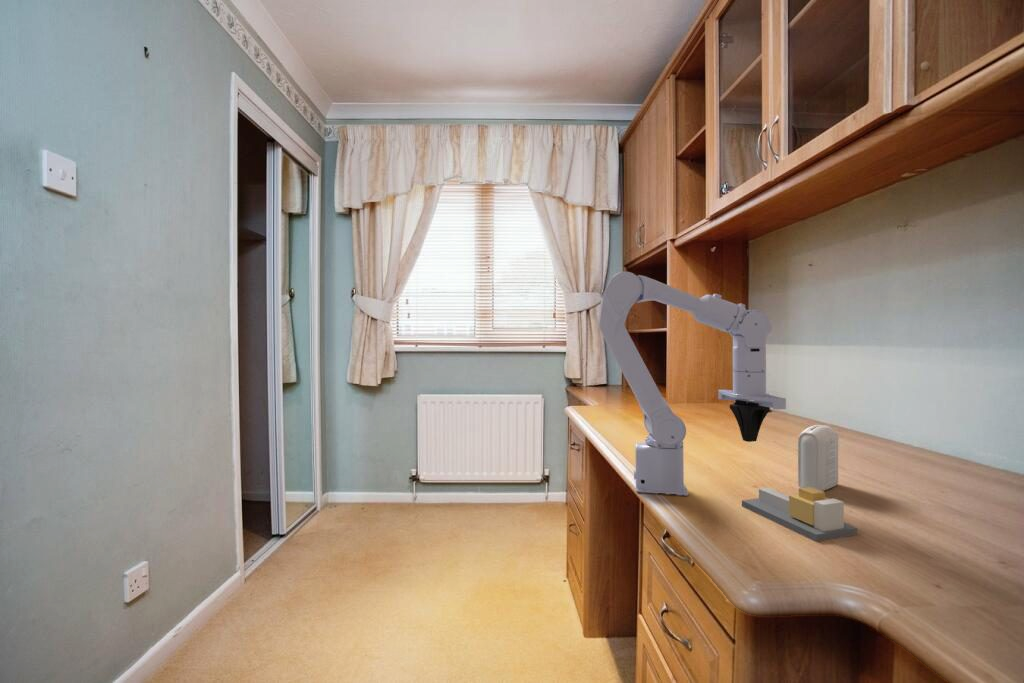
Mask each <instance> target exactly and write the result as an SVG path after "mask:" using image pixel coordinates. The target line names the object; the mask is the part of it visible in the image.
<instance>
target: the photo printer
mask: <svg viewBox="0 0 1024 683" xmlns="http://www.w3.org/2000/svg"><path fill="white" fill-rule="evenodd" d="M797 440H798V441H797V447H798V448H797V475H798V476H797V480H798V481H797V483H798V484H797V485H798V488H806V487H812V488H815V489H818V490H821V491H823V492H825V491H827V490H829V489H831V488H834V487H835V486H837V485H838V483H839V436H838V433H837V431H836V430H835V429H834V428H832V427H831V426H829V425H825V424H823V425H822V424H815V425H811V426H809V427H807V428H806V429H804V430H802V432H800V434H799V436H798V439H797Z"/></svg>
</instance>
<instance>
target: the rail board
mask: <svg viewBox="0 0 1024 683" xmlns="http://www.w3.org/2000/svg"><path fill="white" fill-rule="evenodd" d="M741 506H742V507H743V508H745V509H748V510H750V511H752V512H754V513H756V514H757V515H760V516H762V517H764V518H766V519H768V520H771V521H773V522H775V523H776V524H779V525H781V526H783V527H785V528H787V529H788V530H789V529H790V530H791V531H794V532H796V533H798V534H799V535H802V536H804V537H806V538H809V539H811V540H813V541H814V542H821V541H827V540H831V539H838V538H843V537H849V536H857V535H858V527H856V526H853V525H851V524H849V523H846V522H845V521H844V520H845V519H844V518H845V514H844V513H845V511H844V510H845V509H844V501H842V500H839V499H837V498H827V499H826V500H819V501H814V525H813V526H812V525H810V524H808V523H806V522H803V521H801V520H799V519H796V518H794V517H792V516H790V515H789V495H788V494H784V493H782V492H780V491H776V490H774V489H771V488H770V487H765V488H763V487H762V488H758V498H751V499H742V500H741Z"/></svg>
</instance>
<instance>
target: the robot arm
mask: <svg viewBox="0 0 1024 683" xmlns="http://www.w3.org/2000/svg"><path fill="white" fill-rule="evenodd" d="M722 297H723V296H722V295H721V294H719V293H713V294H705V295H703V296H701V297H697V296H695V295H692V294H691V293H688V292H685V291H683V290H681V289H678V288H675V287H673V286H671V285H668V284H665V283H663V282H660V281H658V280H656V279H653V278H650V277H648V276H645V275H641V274H638V275H636V274H635V273H633V272H630V271H621V272H620V271H619V272H618V273H616V274H615V275H613V276H612V278H610V280H609V282H608V283H607V284H606V286H605V288H604V290H603V292H602V294H601V297H600V307H599V314H598V329H599V330H600V332H601V334H602V336H603V338H604V340H605V343H606V345H607V346H608V348H609V349H610V351H611V353H612V355H613V357H614V359H615V361H616V363H617V365H618V367H619V369H620V371H621V372H622V374H623V376H624V378H625V380H626V382H627V384H628V385H629V387H630V389H631V391H632V393H633V394H634V396H635V399H636V400H637V403H638V406H639V408H640V410H641V412H642V414H643V417H644V418H643V424H644V427H645V429H646V431H647V432H648V434H647V437H646V438H645V439H644V440H645V441H644V442H635V446H634V447H635V448H634V450H635V451H634V453H635V458H634V459H635V462H634V463H635V466H634V469H635V470H633V479H634V480H635V487H636V488H635V490H636V492H637V493H645V494H646V493H647V494H658V493H668V494H667V495H670V494H677V495H676V496H682V495H684V496H685V497H688V496H689V492H688V489H687V486H686V484H685V482H684V480H685V478H684V475H685V474H684V473H685V472H684V468H685V467H684V466H685V465H684V440H685V438H686V435H687V427H686V423H685V421H683V420H682V418H680V416H678V415H676V414H675V413H674V412H673V410H672V408H671V407H670V405H669V404H668V402H667V401H666V400H665V398H664V397H663V395H662V394H661V392H660V390H659V388H658V386H657V383H656V382H655V381H654V378H653V377H652V375H651V373H650V371H649V369H648V367H647V365H646V364H645V362H644V360H643V358H642V356H641V355H640V353H639V350H638V349H637V346H636V345H635V343H634V341H633V339H632V337H631V335H630V333H629V331H628V329H627V327H626V326H625V323H626V320H627V317H628V315H629V313H630V309H632V307H633V305H635V303H643V302H650V301H656V302H658V303H661V304H664V305H666V306H670V307H673V308H676V309H680V310H681V311H685V312H688V313H691V314H692V316H693V318H694V320H695V321H696V322H697V323H700V324H703V325H705V326H708V327H711V328H713V329H716V330H719V331H721V332H724V333H729V335H730V336H731V337H732V389H718V391H717V392H718V393H717V394H718V395H717V396H718V397H717V399H718V400H726V401H733V402H734V403H730V404H729V409H730V411H731V412H732V414H733V416H734V418H735V420H736V422H737V424H738V428H739V431H740V435H741V438H742V439H741V440H742V441H744V442H748V443H750V442H751V443H752V442H757V440H758V437H759V432H760V429H761V426H762V424H763V422H764V420H765V418H766V416H767V415H768V414H769V413H770V411H771V408H772V409H773V410H786V408H787V407H786V406H787V404H786V402H787V400H786V397H779V396H775V395H771V394H770V393H769V392H767V346H766V345H767V342H766V341H767V336H768V335H769V334H770V333H771V331H772V329H773V323H771V321H770V318H769V316H768V315H766V312H764V311H762V310H760V309H755V308H753V309H747V308H746V304H745V303H733V302H731V301H729V300H725V299H723V298H722ZM658 495H659V494H658ZM684 496H683V497H684Z"/></svg>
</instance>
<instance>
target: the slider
mask: <svg viewBox="0 0 1024 683" xmlns="http://www.w3.org/2000/svg"><path fill="white" fill-rule="evenodd" d="M788 496H789V515H790V516H792V517H794V518H796V519H799V520H801V521H803V522H806V523H808V524H810V525H812V526H813V525H814V501H819V500H826V499H828V497H826V492H825V491H821V490H818V489H815V488H812V487H806V488H800V487H798V494H791V495H788Z"/></svg>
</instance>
